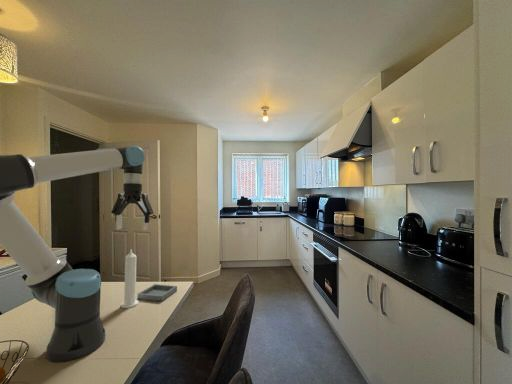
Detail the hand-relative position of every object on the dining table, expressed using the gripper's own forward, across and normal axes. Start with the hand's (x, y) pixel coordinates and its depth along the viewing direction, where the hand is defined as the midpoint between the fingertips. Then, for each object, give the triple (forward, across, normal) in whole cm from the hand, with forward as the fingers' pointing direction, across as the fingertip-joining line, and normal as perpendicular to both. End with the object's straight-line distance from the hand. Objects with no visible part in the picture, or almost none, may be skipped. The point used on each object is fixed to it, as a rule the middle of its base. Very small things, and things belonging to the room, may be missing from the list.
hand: (131, 229), depth 105 cm
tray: (+34, -6, -12) cm, 36 cm away
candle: (+34, 0, 0) cm, 34 cm away
